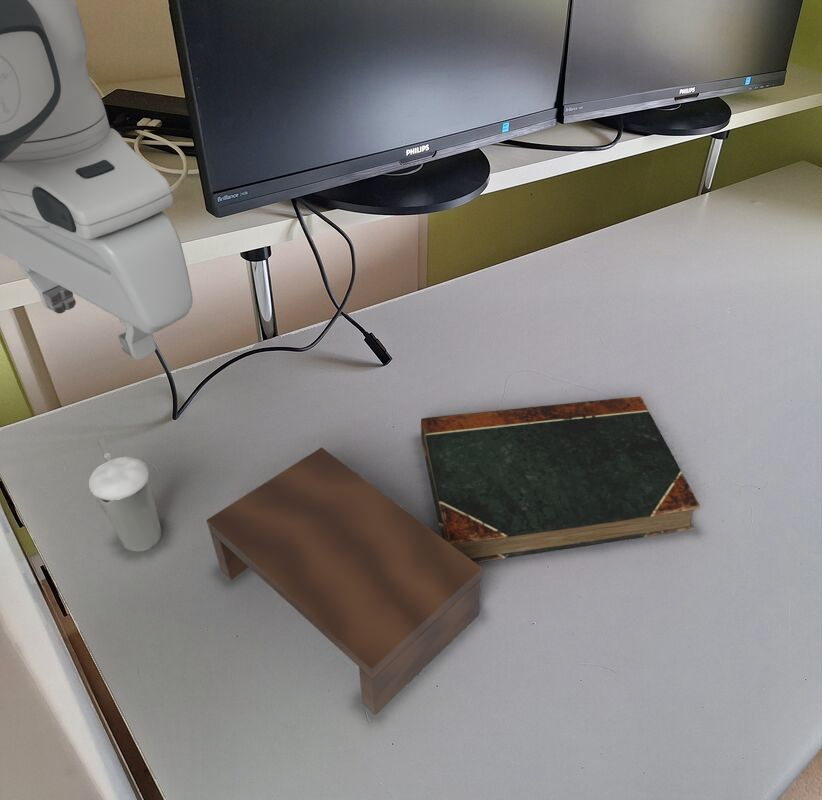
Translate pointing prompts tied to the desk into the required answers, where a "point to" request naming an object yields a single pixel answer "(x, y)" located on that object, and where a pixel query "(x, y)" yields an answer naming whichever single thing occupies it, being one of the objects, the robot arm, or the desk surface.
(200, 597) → the desk surface
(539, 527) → the book
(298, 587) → the riser shelf
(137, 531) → the milkshake
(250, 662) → the desk surface
